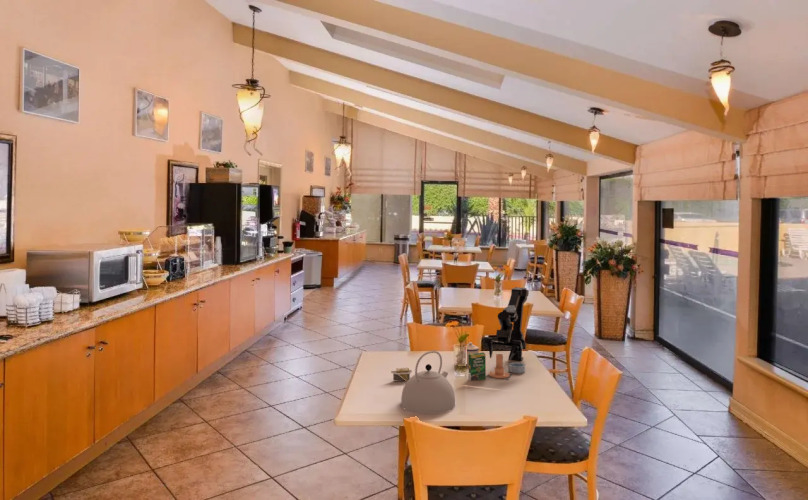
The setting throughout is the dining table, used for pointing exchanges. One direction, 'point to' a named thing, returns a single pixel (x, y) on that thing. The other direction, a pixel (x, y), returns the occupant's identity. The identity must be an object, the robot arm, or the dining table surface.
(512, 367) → the bowl
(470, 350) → the teacup with lid
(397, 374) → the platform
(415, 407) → the kettle
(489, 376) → the mat
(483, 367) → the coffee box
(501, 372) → the wooden peg stand
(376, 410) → the dining table surface
